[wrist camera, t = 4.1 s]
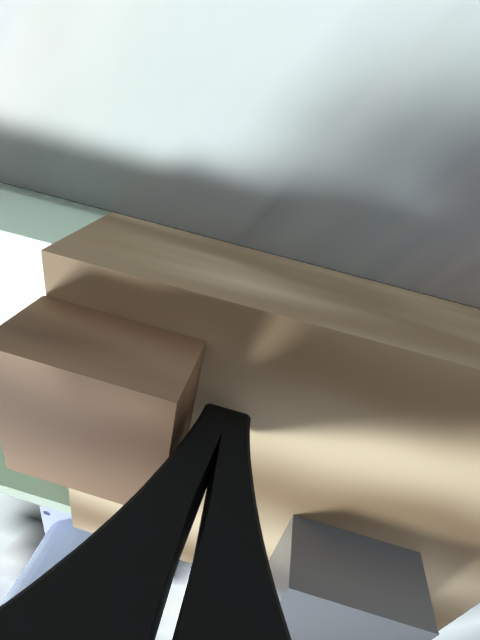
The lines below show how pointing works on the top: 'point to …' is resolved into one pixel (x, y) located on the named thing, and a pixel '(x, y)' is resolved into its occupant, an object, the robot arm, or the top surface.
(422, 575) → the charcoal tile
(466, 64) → the top surface
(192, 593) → the robot arm
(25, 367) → the walnut tile
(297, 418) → the oak bench
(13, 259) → the bin
